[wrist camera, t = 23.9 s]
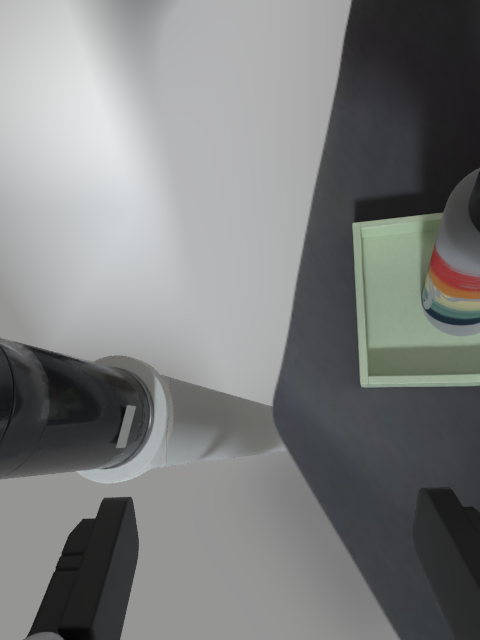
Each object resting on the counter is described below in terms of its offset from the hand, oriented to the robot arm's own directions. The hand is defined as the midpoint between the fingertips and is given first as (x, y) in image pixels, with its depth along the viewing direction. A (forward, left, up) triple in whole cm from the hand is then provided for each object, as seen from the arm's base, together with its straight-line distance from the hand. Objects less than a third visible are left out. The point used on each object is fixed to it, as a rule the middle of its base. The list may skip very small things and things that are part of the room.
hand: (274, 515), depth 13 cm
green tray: (+9, +13, -24) cm, 29 cm away
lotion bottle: (+9, +12, -24) cm, 29 cm away
